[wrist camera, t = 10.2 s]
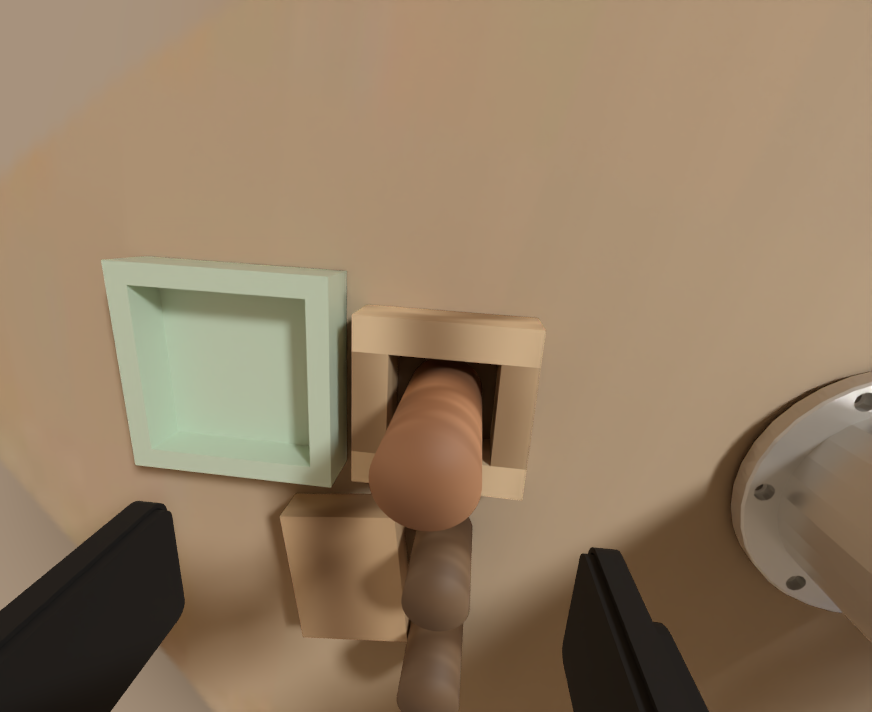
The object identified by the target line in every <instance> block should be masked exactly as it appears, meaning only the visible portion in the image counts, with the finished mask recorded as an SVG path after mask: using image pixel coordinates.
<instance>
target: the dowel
mask: <svg viewBox="0 0 872 712" xmlns="http://www.w3.org/2000/svg"><path fill="white" fill-rule="evenodd" d="M369 486H370V491H371V493H372V496H373V498H374V500H375V502H376V504H377V505H378V506H379V508H380V509H381V510H382V511H383V512H384V513H385V514H386V515H387V516H388V517H389V518H391V519H392V520H393V521H395V522H397V523H398V524H400V525H402V526H405V527H407V528H410V529H414V530H419V531H428V532H430V531H441V530H445V529H449V528H451V527H454V526H456V525H458V524H460V523H461V522H463V521H464V520H465V519H467V518H468V517H469V516H470V515H471V514H472V512H473V511H474V510H475V508H476V506H477V504H478V503H479V500H480V497H481V492H482V385H481V381H480V378H479V376H478V374H477V373H476V371H475V370H474V369H473V368H472V367H471V366H470V365H469V364H468V363H466V362H465V361H454V360H443V359H429V360H427V361H425V362H424V363H422V364H421V365H420V366H419V367H418V368H417V369H416V370H415V372H414V374H413V376H412V378H411V380H410V382H409V384H408V386H407V388H406V390H405V392H404V394H403V397H402V399H401V401H400V403H399V405H398V407H397V409H396V411H395V413H394V415H393V418H392V420H391V422H390V424H389V426H388V428H387V430H386V432H385V434H384V437H383V439H382V441H381V443H380V445H379V447H378V449H377V451H376V453H375V455H374V458H373V460H372V462H371V465H370V469H369Z"/></svg>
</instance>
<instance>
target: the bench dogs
mask: <svg viewBox="0 0 872 712" xmlns="http://www.w3.org/2000/svg"><path fill="white" fill-rule="evenodd" d="M471 553H472V524H471V521H470V519H469V517H468V518H467V519H465V520H464V521H463V522H461V523H460V524H458V525H456V526H454V527H451V528H449V529H445V530H441V531H430V532H428V531H419V530H416V534H415V538H414V543H413V547H412V552H411V556H410V561H409V566H408V570H407V575H406V579H405V584H404V589H403V593H402V598H401V604H402V608H403V611H404V613H405V614H406V616H407V617H408V618H409V619H410V620H411V622H410V628H409V633H408V639H407V644H406V650H405V655H404V661H403V666H402V671H401V677H400V682H399V688H398V693H397V704H398V707H399V709H400V710H401V711H402V712H458V711H459V699H460V678H461V658H462V637H463V622H464V621H465V620H466V618H467V617H468V614H469V610H470V583H471Z"/></svg>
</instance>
